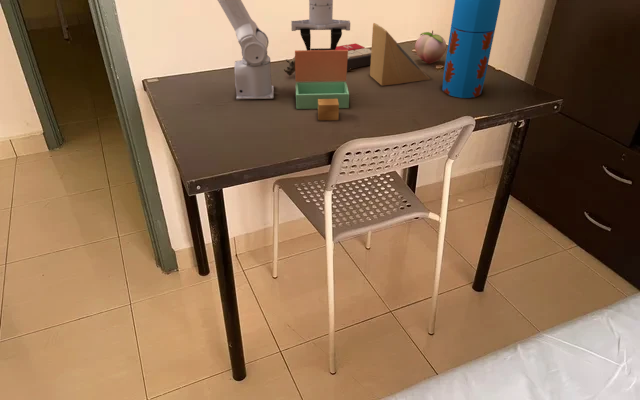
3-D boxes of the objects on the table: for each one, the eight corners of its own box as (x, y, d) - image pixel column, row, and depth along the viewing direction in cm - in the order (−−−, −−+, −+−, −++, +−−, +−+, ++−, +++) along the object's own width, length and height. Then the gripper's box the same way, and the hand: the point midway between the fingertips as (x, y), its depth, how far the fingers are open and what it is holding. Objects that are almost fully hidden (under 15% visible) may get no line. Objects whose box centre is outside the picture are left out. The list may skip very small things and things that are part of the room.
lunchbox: (348, 108, 128) (349, 94, 125) (296, 109, 127) (296, 94, 125) (345, 95, 134) (346, 81, 132) (295, 95, 134) (295, 82, 131)
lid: (348, 50, 125) (346, 43, 128) (294, 51, 125) (294, 43, 127) (346, 80, 132) (344, 73, 134) (295, 81, 131) (295, 73, 134)
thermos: (433, 86, 139) (447, -10, 125) (463, 80, 144) (480, -14, 129) (459, 101, 132) (477, 0, 117) (490, 93, 136) (511, -4, 121)
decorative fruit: (449, 64, 154) (454, 31, 148) (433, 70, 149) (438, 36, 144) (424, 56, 160) (428, 24, 154) (408, 62, 155) (412, 29, 149)
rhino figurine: (279, 77, 144) (278, 56, 141) (314, 66, 152) (314, 46, 148) (288, 81, 142) (287, 60, 138) (324, 69, 149) (324, 49, 146)
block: (318, 120, 122) (318, 105, 119) (317, 114, 125) (317, 98, 122) (338, 120, 122) (338, 104, 120) (337, 113, 125) (337, 98, 123)
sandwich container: (431, 79, 144) (438, 26, 135) (382, 86, 140) (386, 31, 131) (416, 69, 150) (423, 17, 142) (369, 75, 146) (372, 22, 138)
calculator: (378, 51, 152) (338, 58, 144) (377, 65, 154) (337, 73, 147) (356, 41, 159) (317, 48, 152) (354, 55, 162) (316, 62, 154)
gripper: (291, 7, 119) (292, 64, 126) (352, 7, 119) (350, 63, 127) (290, 0, 124) (292, 54, 132) (349, -1, 125) (347, 54, 133)
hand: (320, 58), depth 130 cm, fingers closed on lid, 5 cm apart
